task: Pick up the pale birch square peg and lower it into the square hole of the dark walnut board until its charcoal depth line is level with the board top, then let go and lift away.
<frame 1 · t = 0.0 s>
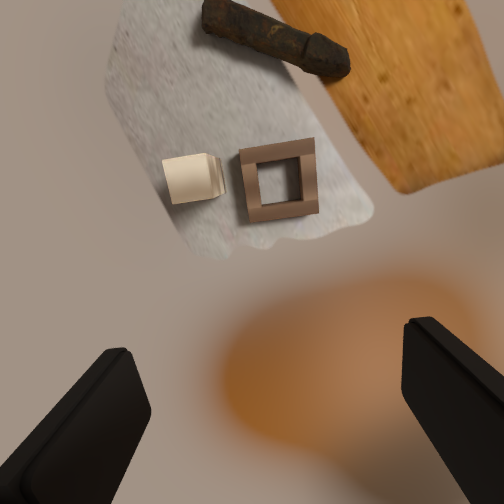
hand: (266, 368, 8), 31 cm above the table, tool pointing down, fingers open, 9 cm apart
peg: (211, 178, 37), on the table
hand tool: (279, 45, 32), on the table
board: (278, 181, 36), on the table
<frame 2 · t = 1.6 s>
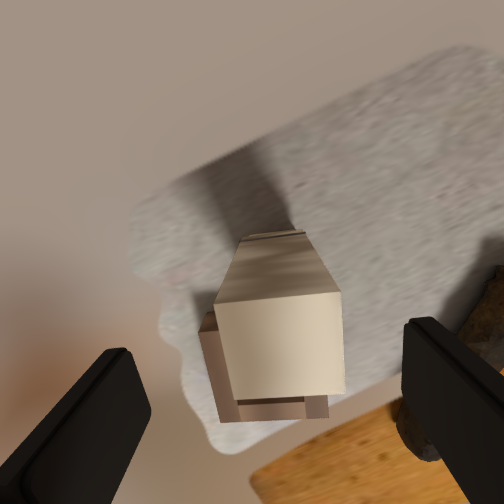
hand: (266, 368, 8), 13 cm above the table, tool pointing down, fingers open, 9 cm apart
peg: (274, 253, 21), on the table
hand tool: (449, 353, 23), on the table
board: (266, 352, 24), on the table
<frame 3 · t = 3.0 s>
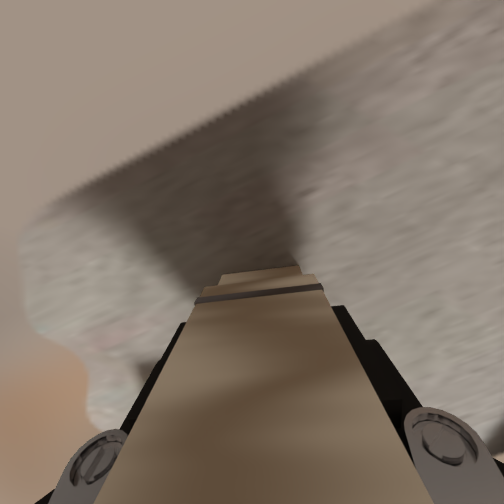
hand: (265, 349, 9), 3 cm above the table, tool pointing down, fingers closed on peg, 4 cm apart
peg: (264, 304, 12), on the table, touching gripper
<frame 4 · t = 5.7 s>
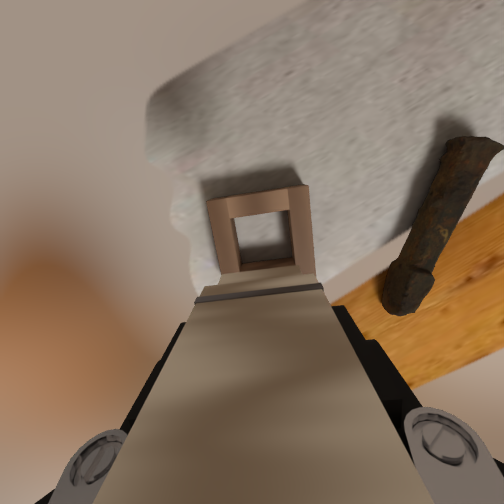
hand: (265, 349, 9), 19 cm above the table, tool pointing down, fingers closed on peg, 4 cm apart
peg: (264, 303, 12), point 16 cm above the table, touching gripper
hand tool: (419, 232, 27), on the table
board: (263, 235, 28), on the table
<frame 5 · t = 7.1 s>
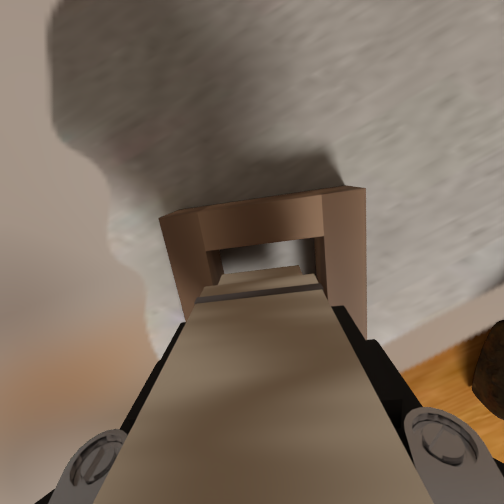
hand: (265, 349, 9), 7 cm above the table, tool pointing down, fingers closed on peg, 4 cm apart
peg: (264, 304, 12), point 4 cm above the table, touching gripper
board: (269, 274, 16), on the table
when the fingers open (4 cm above the table, at t = 8.4 s): peg stays where it is, resting in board.
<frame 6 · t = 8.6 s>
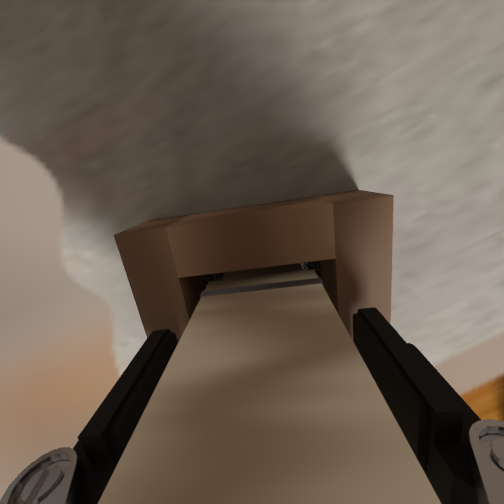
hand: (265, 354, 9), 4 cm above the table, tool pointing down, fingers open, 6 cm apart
peg: (266, 299, 13), resting in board
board: (264, 299, 13), on the table
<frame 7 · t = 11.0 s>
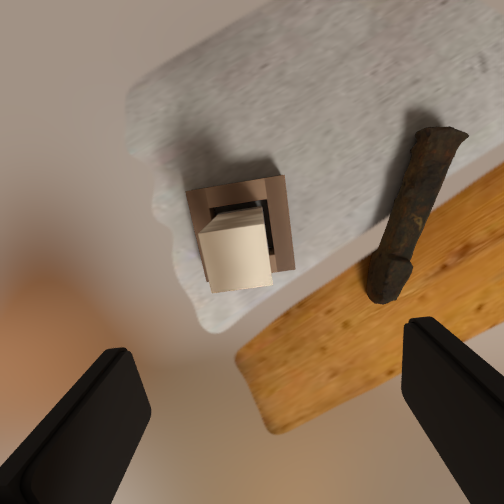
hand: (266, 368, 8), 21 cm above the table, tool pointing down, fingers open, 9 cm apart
peg: (245, 226, 28), resting in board
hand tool: (398, 222, 28), on the table
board: (244, 226, 28), on the table
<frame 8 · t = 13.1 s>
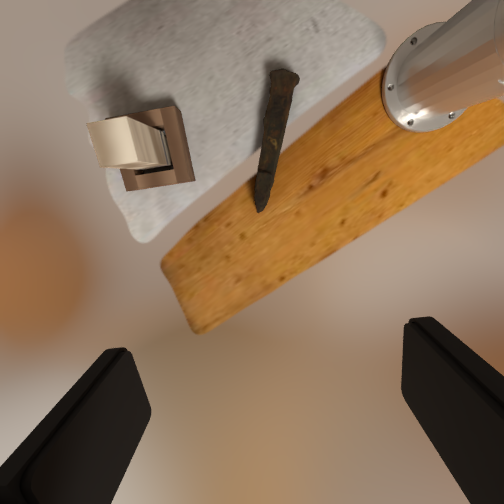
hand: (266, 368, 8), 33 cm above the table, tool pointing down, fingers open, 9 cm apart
peg: (158, 152, 38), resting in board
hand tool: (273, 150, 37), on the table
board: (157, 152, 38), on the table
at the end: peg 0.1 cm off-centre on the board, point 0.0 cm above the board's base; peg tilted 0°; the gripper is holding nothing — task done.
